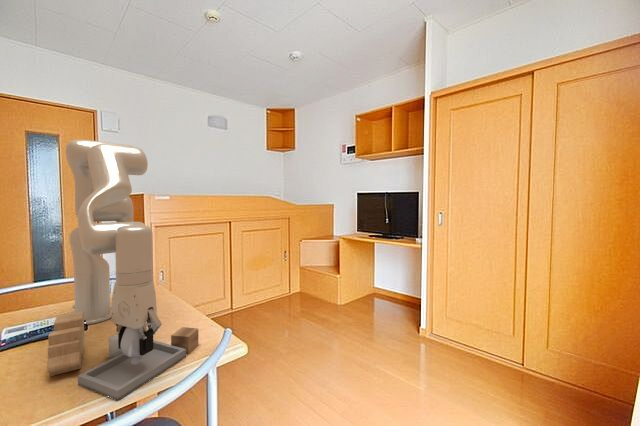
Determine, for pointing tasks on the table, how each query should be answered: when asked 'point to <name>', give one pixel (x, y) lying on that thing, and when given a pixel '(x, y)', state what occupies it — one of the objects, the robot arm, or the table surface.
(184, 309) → the table surface
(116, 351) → the pale grey egg shape
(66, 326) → the stepped wooden block
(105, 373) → the tray
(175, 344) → the walnut cube
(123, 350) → the toy figure
